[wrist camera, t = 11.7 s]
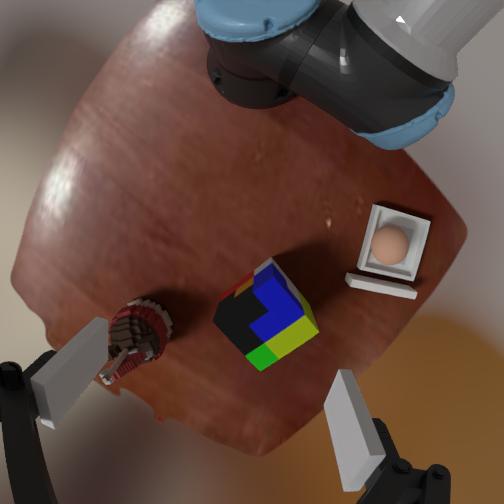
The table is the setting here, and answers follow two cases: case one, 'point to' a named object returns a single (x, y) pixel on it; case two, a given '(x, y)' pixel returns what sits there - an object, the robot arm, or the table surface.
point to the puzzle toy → (265, 315)
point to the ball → (389, 245)
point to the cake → (136, 337)
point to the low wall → (380, 286)
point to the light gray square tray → (416, 236)
